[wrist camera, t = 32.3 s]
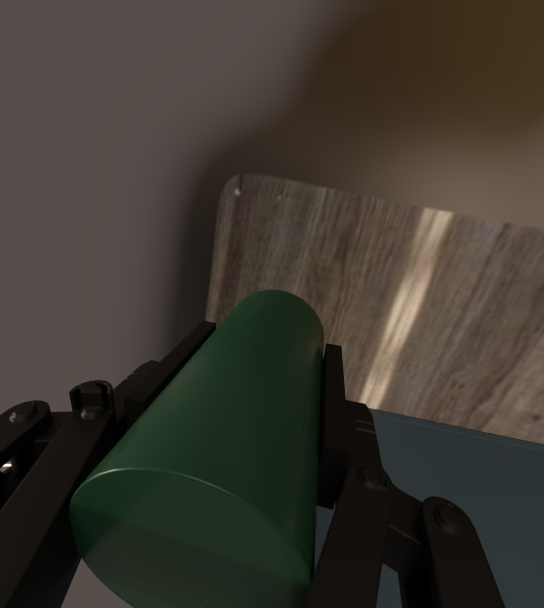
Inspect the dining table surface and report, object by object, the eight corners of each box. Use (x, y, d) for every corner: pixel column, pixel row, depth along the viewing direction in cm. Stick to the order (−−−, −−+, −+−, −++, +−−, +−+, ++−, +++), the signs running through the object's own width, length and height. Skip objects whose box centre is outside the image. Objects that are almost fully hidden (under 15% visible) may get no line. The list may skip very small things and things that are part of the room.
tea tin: (226, 367, 19) (84, 598, 8) (231, 282, 17) (45, 439, 6) (315, 385, 18) (293, 670, 7) (332, 298, 16) (337, 516, 5)
